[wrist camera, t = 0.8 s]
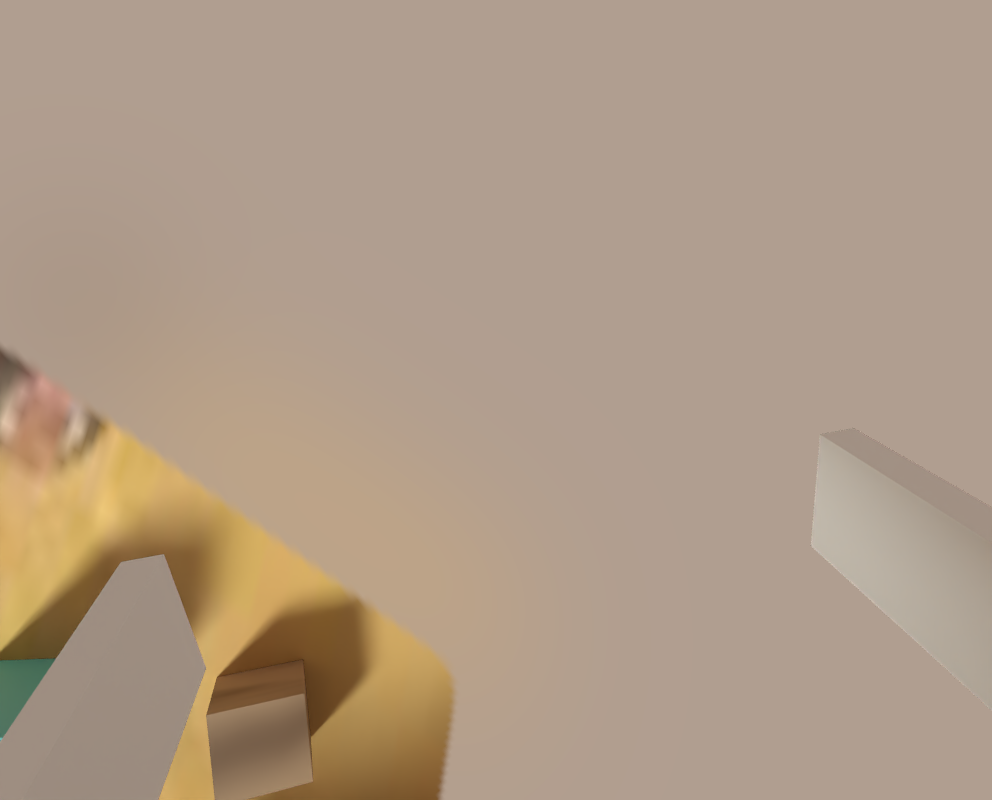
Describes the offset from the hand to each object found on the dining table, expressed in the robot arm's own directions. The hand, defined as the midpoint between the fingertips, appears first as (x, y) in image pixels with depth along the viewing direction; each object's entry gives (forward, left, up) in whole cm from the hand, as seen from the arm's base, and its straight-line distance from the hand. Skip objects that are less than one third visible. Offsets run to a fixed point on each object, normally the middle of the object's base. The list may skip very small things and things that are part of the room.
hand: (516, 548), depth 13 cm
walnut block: (-16, +5, -30) cm, 34 cm away
